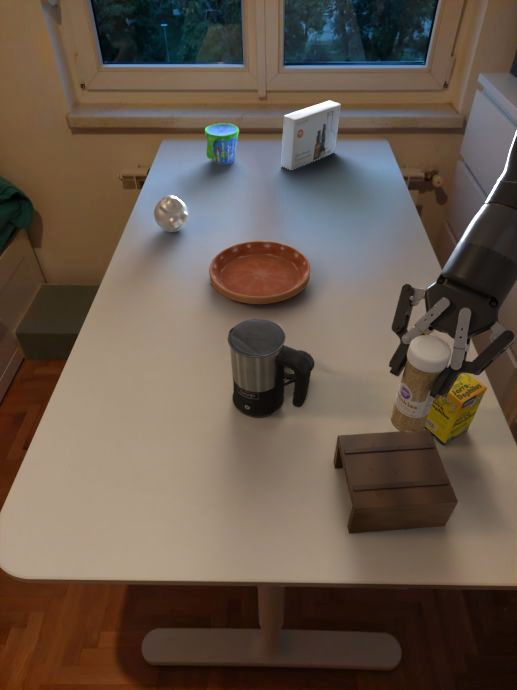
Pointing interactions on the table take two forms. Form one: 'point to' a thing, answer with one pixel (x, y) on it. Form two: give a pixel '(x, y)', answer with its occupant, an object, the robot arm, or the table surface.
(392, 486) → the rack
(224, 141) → the snack cup
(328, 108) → the skincare box
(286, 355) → the milk frother
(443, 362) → the sprinkles bottle
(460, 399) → the supplement box
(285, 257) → the saucer
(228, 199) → the table surface
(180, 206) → the shiny silver ball
